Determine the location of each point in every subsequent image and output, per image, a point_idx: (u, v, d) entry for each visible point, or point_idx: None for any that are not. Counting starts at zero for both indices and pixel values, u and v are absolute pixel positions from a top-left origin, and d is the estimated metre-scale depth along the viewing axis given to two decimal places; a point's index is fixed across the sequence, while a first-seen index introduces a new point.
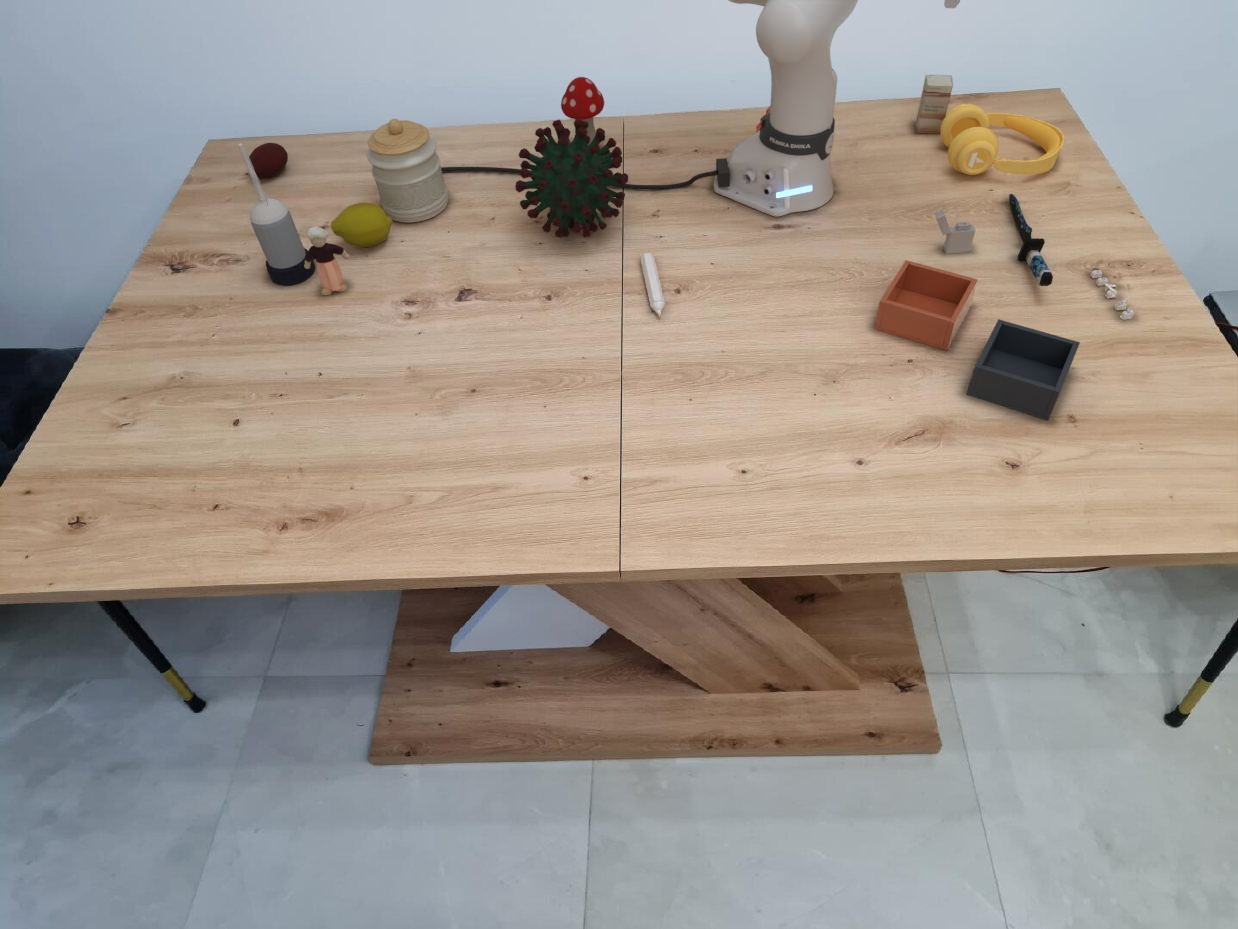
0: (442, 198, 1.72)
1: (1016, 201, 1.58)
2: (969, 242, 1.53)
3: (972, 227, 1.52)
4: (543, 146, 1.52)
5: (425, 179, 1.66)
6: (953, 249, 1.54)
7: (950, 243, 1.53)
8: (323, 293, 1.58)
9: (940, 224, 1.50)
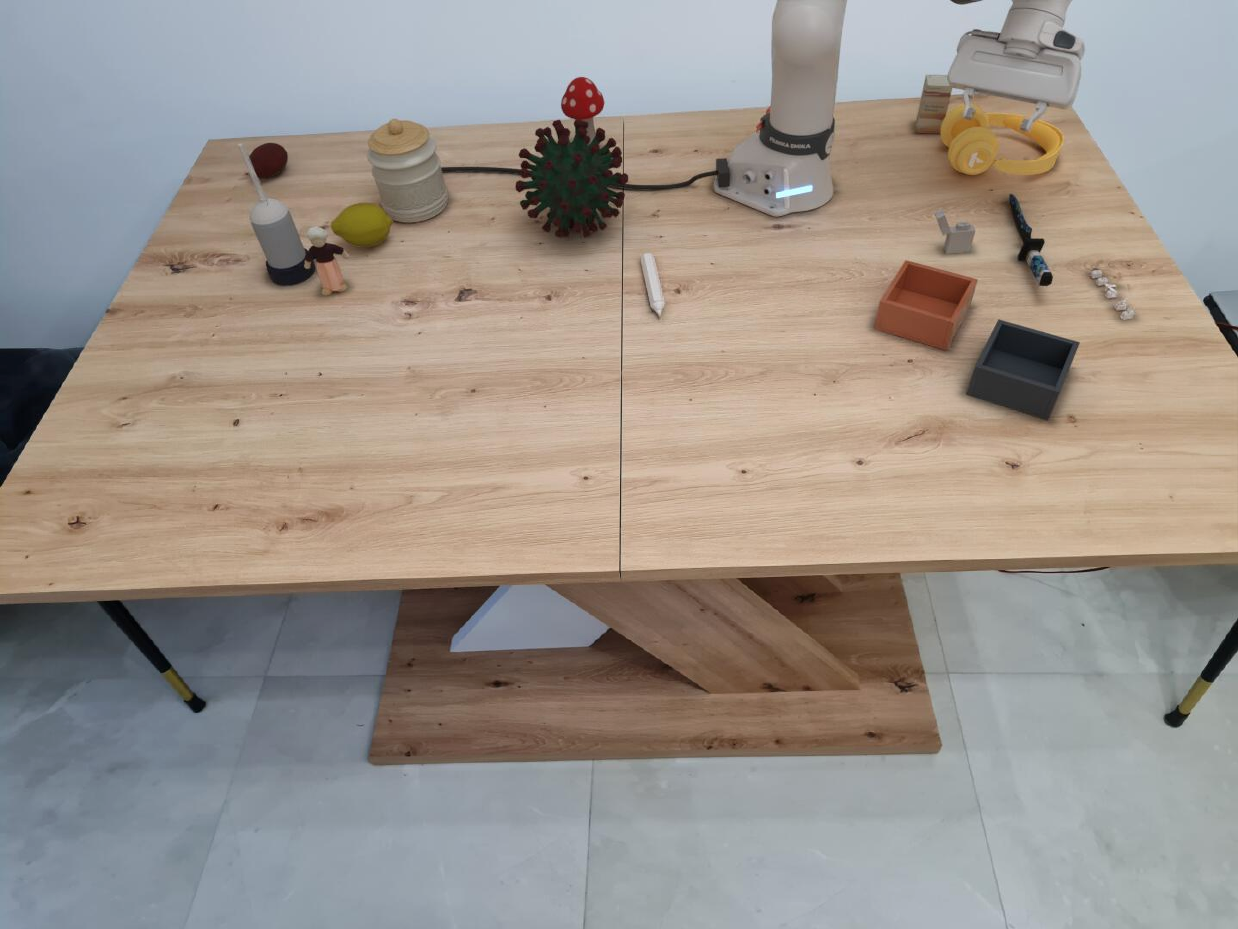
0: (442, 198, 1.72)
1: (1016, 201, 1.58)
2: (969, 242, 1.53)
3: (972, 227, 1.52)
4: (543, 146, 1.52)
5: (425, 179, 1.66)
6: (953, 249, 1.54)
7: (950, 243, 1.53)
8: (323, 293, 1.58)
9: (940, 224, 1.50)
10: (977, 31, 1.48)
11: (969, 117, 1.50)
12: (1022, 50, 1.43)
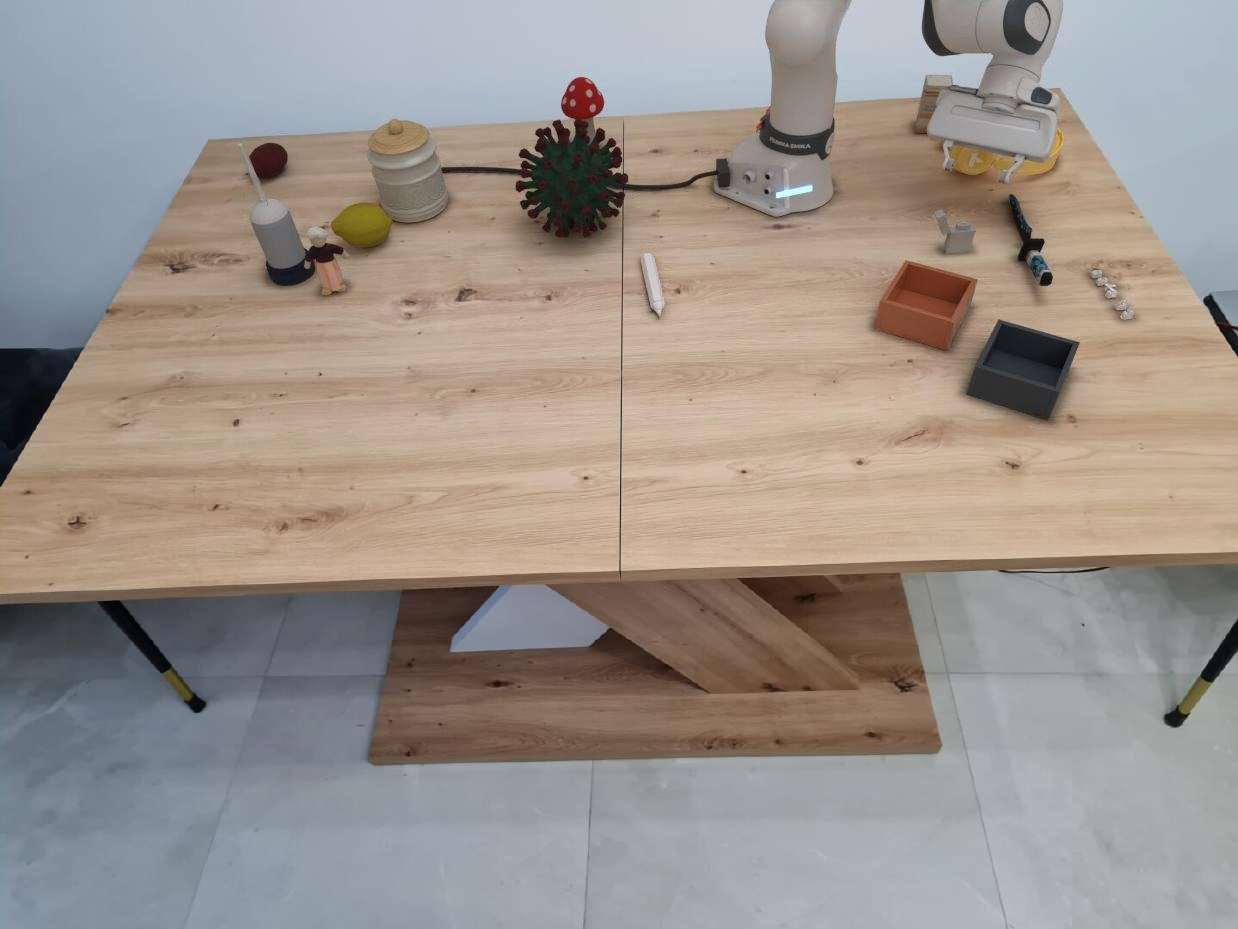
0: (442, 198, 1.72)
1: (1016, 201, 1.58)
2: (969, 242, 1.53)
3: (972, 227, 1.52)
4: (543, 146, 1.52)
5: (425, 179, 1.66)
6: (953, 249, 1.54)
7: (950, 243, 1.53)
8: (323, 293, 1.58)
9: (940, 224, 1.50)
10: (955, 86, 1.51)
11: (949, 168, 1.52)
12: (1000, 105, 1.46)
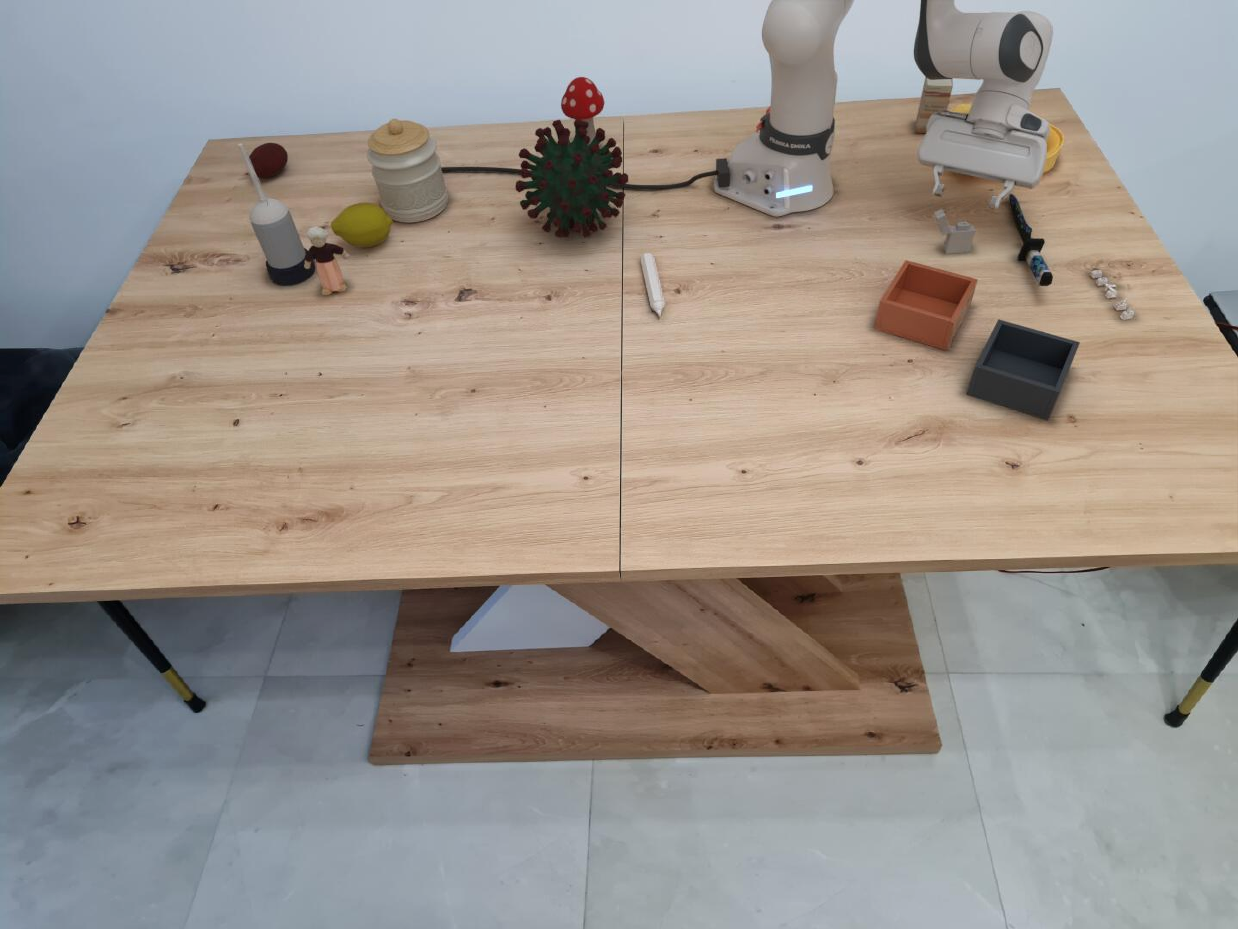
0: (442, 198, 1.72)
1: (1016, 201, 1.58)
2: (969, 242, 1.53)
3: (972, 227, 1.52)
4: (543, 146, 1.52)
5: (425, 179, 1.66)
6: (953, 249, 1.54)
7: (950, 243, 1.53)
8: (323, 293, 1.58)
9: (940, 224, 1.50)
10: (945, 112, 1.52)
11: (939, 193, 1.52)
12: (990, 131, 1.46)
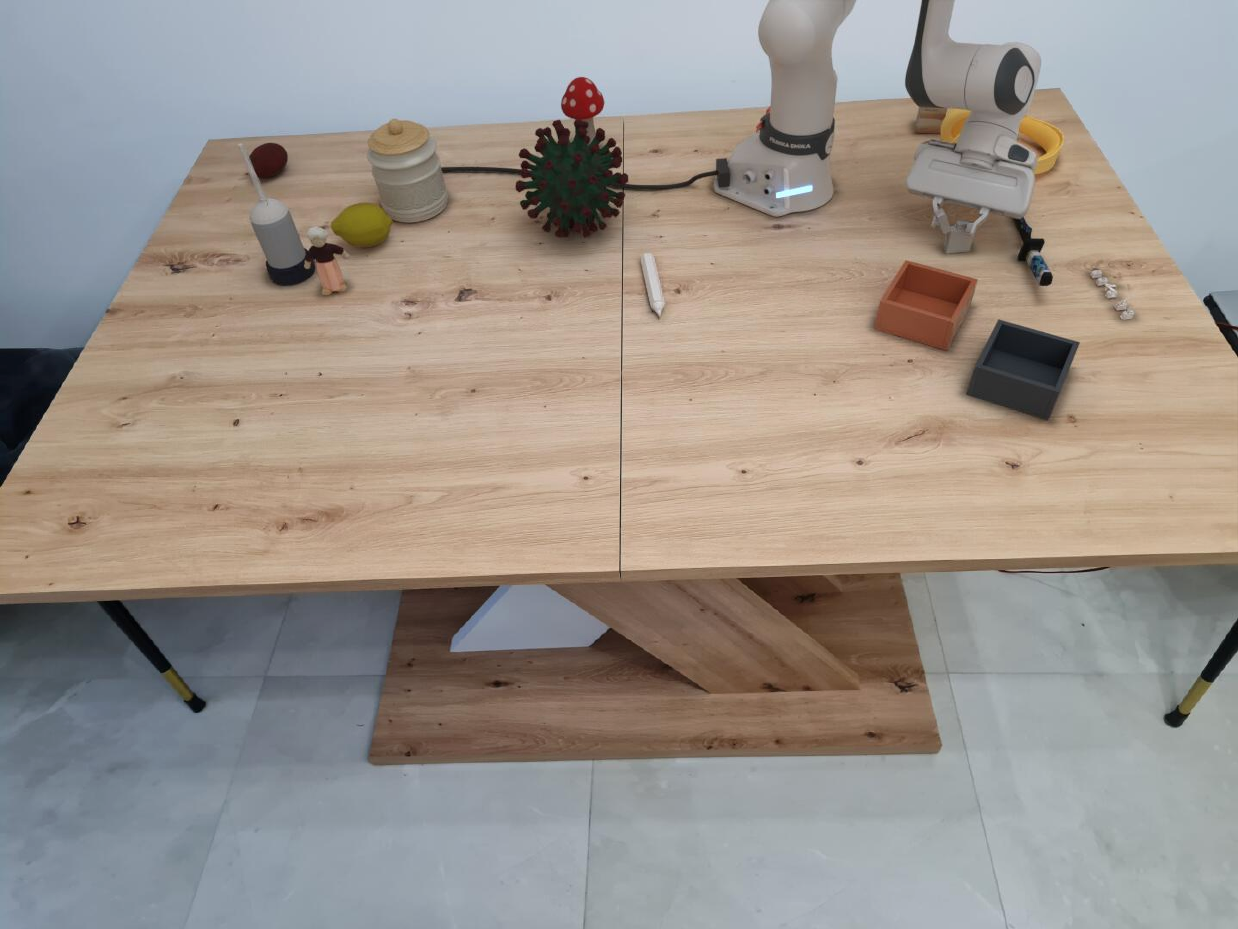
0: (442, 198, 1.72)
1: None
2: (969, 240, 1.53)
3: None
4: (543, 146, 1.52)
5: (425, 179, 1.66)
6: (953, 248, 1.54)
7: (950, 242, 1.53)
8: (323, 293, 1.58)
9: (940, 223, 1.50)
10: (934, 141, 1.52)
11: (938, 225, 1.51)
12: (978, 161, 1.46)
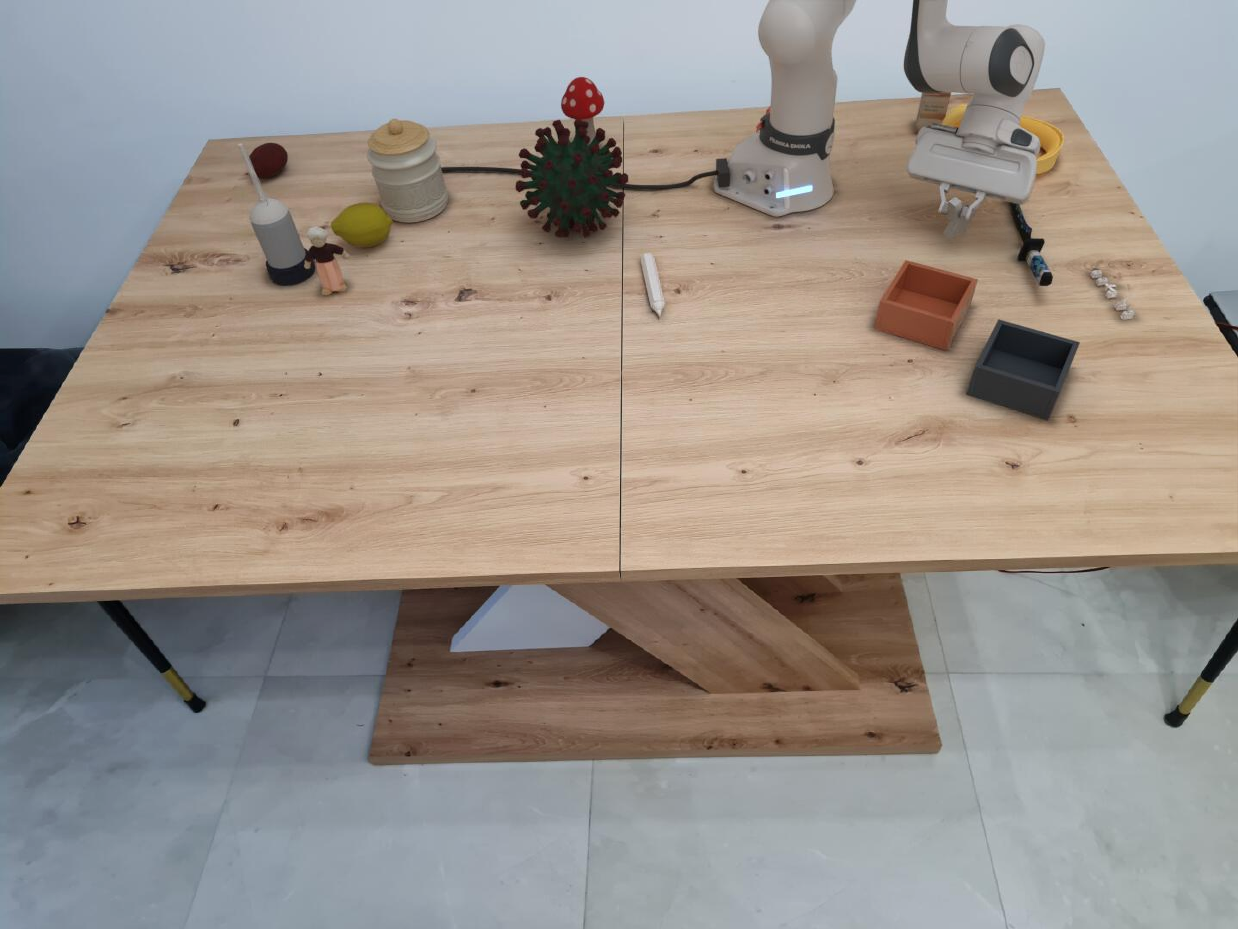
0: (442, 198, 1.72)
1: None
2: (968, 222, 1.53)
3: None
4: (543, 146, 1.52)
5: (425, 179, 1.66)
6: (956, 233, 1.53)
7: (956, 228, 1.52)
8: (323, 293, 1.58)
9: (956, 212, 1.48)
10: (936, 124, 1.50)
11: (945, 212, 1.49)
12: (980, 145, 1.45)
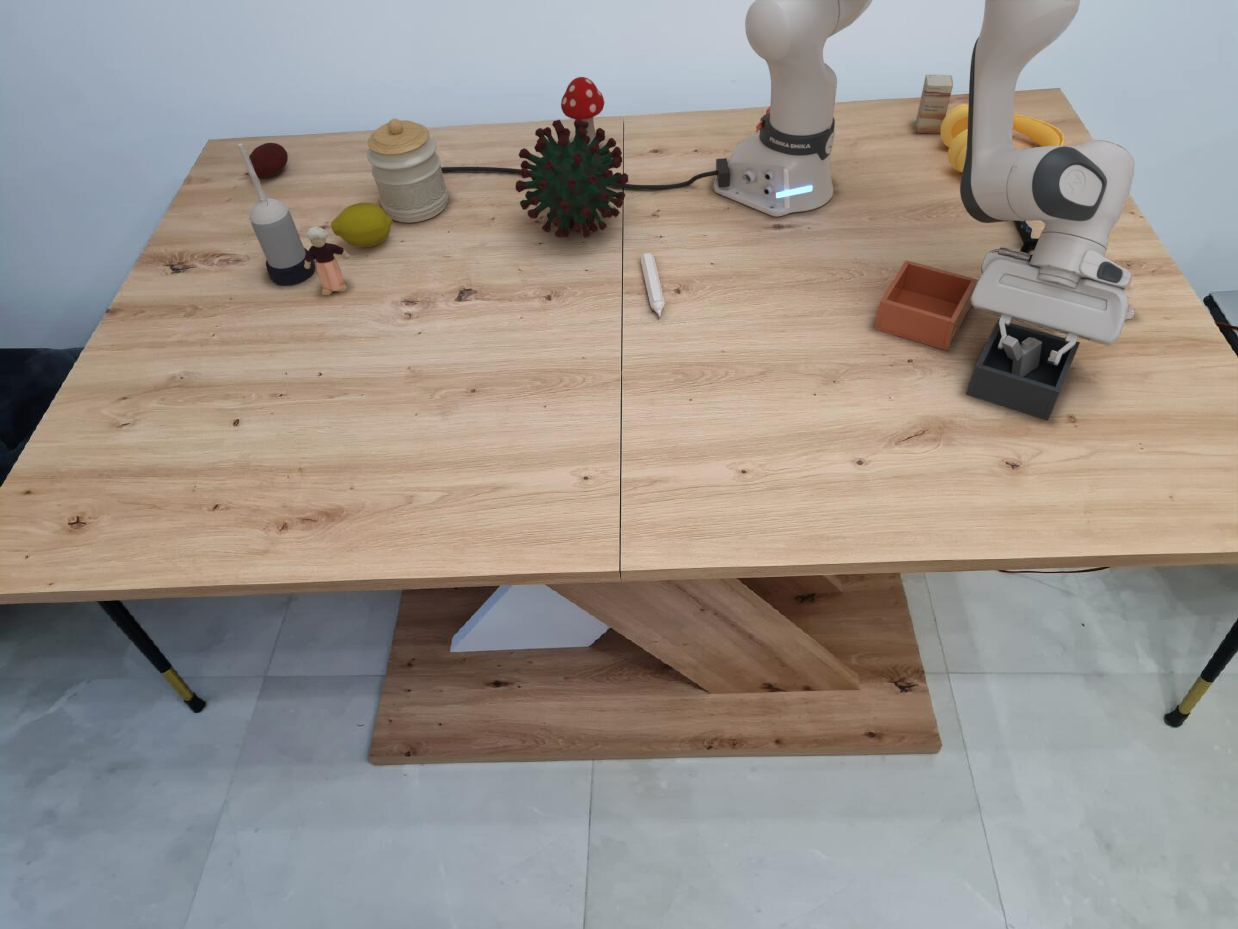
0: (442, 198, 1.72)
1: None
2: (1038, 356, 1.32)
3: (1035, 340, 1.31)
4: (543, 146, 1.52)
5: (425, 179, 1.66)
6: (1026, 370, 1.32)
7: (1023, 366, 1.31)
8: (323, 293, 1.58)
9: (1014, 351, 1.28)
10: (1005, 250, 1.29)
11: None
12: (1060, 279, 1.24)
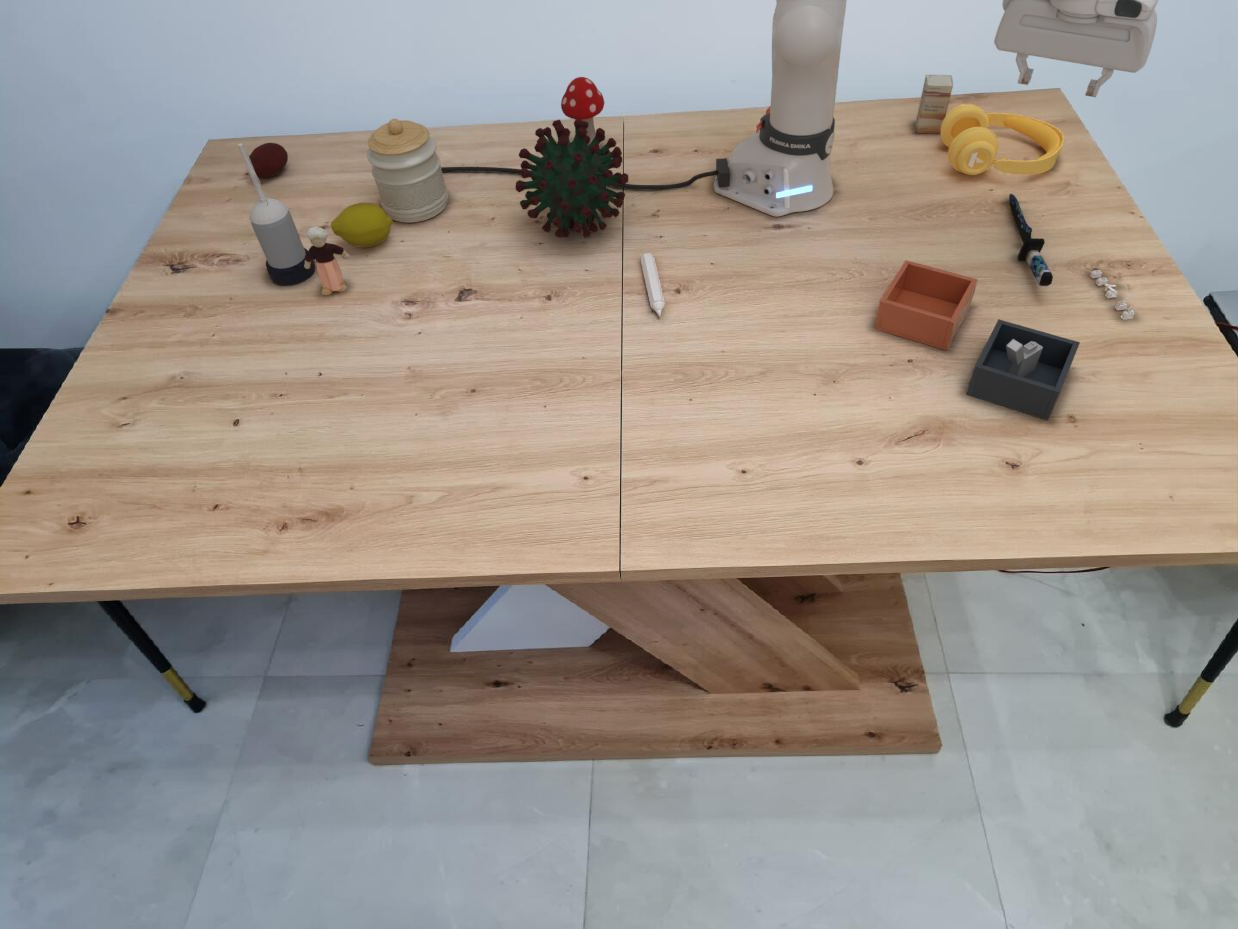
0: (442, 198, 1.72)
1: (1016, 201, 1.58)
2: (1036, 360, 1.32)
3: (1036, 344, 1.31)
4: (543, 146, 1.52)
5: (425, 179, 1.66)
6: (1023, 373, 1.32)
7: (1021, 369, 1.31)
8: (323, 293, 1.58)
9: (1017, 356, 1.27)
10: None
11: (1026, 84, 1.32)
12: (1078, 20, 1.21)
